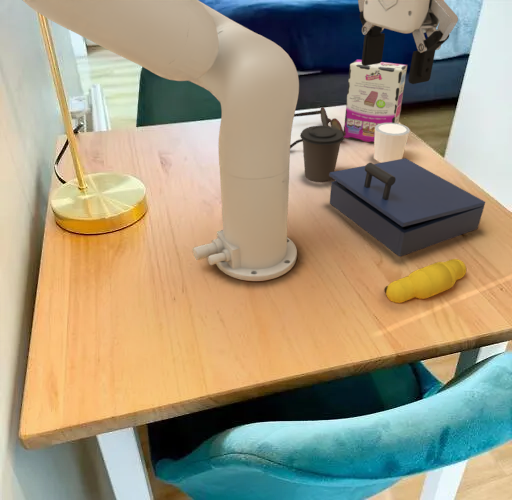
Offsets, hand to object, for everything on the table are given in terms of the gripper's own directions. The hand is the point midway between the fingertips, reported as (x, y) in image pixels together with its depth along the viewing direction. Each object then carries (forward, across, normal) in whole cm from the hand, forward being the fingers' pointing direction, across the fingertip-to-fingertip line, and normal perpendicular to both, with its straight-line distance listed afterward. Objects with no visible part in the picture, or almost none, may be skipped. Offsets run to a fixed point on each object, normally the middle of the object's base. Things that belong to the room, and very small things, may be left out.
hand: (393, 72), depth 69 cm
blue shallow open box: (+25, 0, +6) cm, 26 cm away
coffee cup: (+26, -19, +2) cm, 32 cm away
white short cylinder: (+26, -19, +19) cm, 37 cm away
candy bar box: (+26, -30, +23) cm, 46 cm away
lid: (+20, 0, +6) cm, 21 cm away
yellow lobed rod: (+25, +17, -3) cm, 31 cm away
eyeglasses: (+26, -38, +10) cm, 47 cm away
